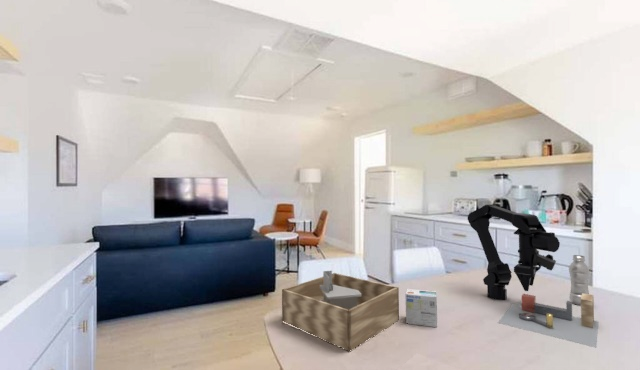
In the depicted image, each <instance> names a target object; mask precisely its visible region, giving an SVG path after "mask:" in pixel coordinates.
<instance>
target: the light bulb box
mask: <svg viewBox="0 0 640 370" xmlns="http://www.w3.org/2000/svg"><path fill="white" fill-rule="evenodd" d="M437 297H438V296H437V291H436V290H427V289H426V290H423V289H413V288H411V289H410V288H406V292H405V324H406V323H408V324H409V325H414V326H415V325H416V326H425V327H432V328H433V327H434V328H437V327H438V302H437V301H438V300H437V299H438V298H437Z"/></svg>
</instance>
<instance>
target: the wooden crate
mask: <svg viewBox="0 0 640 370" xmlns="http://www.w3.org/2000/svg"><path fill="white" fill-rule="evenodd" d="M332 284H333V285H337V286H341V287H346V288H350V289H355V290H358V291H359V292H360V293H361V297H357V305H358V306H356V307H353V308H351V309H349V310H348V309H345V308H342V307H338V306H335V305H332V304H329V303H326V302H323V301H320V299H324V294H323V292H322V290H321V289H320V285H323V276H321V277H317V278H314V279H311V280H308V281H305V282H302V283H299V284H296V285H292V286H289V287H286V288H283V289H281V309H282V310H281V322H282V321H284V322H286V323H288V324H291V325H293V326H295V327H297V328H300V329H302V330H304V331H306V332H308V333H310V334H313V335H315V336H317V337H320V338H322V339H324V340H326V341H328V342H330V343H332V344H335V345H337V346H340V347H342V348H344V349H346V350H348V351H347V352H349V351H350V350H352V349H353V350H355V349H356V348H355V347H357V346H358V345H360V344H361V345H363V344H364V343H366V342H367V341H366V340H368V339H369V338H371V337H372V338H373V336H374V335H375V336H377V335H378V334H377V333H379V332H380V333H381V331H382V330H383V331H385V330H386V329H388V328H390V327H391V326H393V325H394V324H396V323H397V322H399V321H400V308H399V307H400V302H399V301H400V300H399V299H400V296H399V295H400V294H399V293H400V292H399V291H400V290H399V286H398V287H397V286H394V285H389V284H385V283H380V282H376V281H372V280H368V279H363V278H357V277H354V276H348V275H347V274H346V275H345V274H341V273H336V272H334V273H332ZM398 320H399V321H398ZM396 321H397V322H396ZM395 322H396V323H395ZM393 323H394V324H393ZM392 324H393V325H392ZM390 325H391V326H390ZM389 326H390V327H389ZM387 327H388V328H387ZM385 328H386V329H385ZM384 329H385V330H384ZM383 331H382V332H383ZM380 333H379V334H380ZM376 334H377V335H376ZM375 336H374V337H375ZM372 338H371V339H372ZM369 340H370V339H369ZM369 340H368V341H369ZM326 341H325V342H326ZM365 341H366V342H365ZM328 342H327V343H328ZM363 342H364V343H363ZM330 343H329V344H330ZM362 343H363V344H362ZM332 344H331V345H332ZM335 345H334V346H335ZM361 345H360V346H361ZM337 346H336V347H337ZM358 347H359V346H358ZM358 347H357V348H358ZM342 348H341V349H342ZM354 348H355V349H354ZM344 349H343V350H344ZM346 350H345V351H346ZM353 350H352V351H353ZM350 352H351V351H350Z"/></svg>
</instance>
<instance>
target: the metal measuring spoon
mask: <svg viewBox="0 0 640 370" xmlns="http://www.w3.org/2000/svg"><path fill="white" fill-rule="evenodd" d="M519 318H520V319H522V320H525V321H533V322H535V323H538V324H540V325H543V326H545V327H548V328H553V315H552V314H549V313H547V314H546V322H543V321H540V320H538V319H536V317H535V316H534V315H533V314H528V313H520V314H519Z"/></svg>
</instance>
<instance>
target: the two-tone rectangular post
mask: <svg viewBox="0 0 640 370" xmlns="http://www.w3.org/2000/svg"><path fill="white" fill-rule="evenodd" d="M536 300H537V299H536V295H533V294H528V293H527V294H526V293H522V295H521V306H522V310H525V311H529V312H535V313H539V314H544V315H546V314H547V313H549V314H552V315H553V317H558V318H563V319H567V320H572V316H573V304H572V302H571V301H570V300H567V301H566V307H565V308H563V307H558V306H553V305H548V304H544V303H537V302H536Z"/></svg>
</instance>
